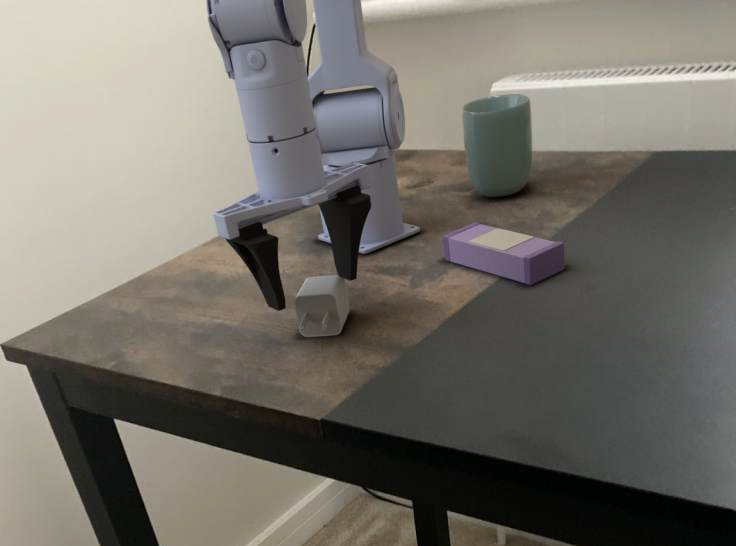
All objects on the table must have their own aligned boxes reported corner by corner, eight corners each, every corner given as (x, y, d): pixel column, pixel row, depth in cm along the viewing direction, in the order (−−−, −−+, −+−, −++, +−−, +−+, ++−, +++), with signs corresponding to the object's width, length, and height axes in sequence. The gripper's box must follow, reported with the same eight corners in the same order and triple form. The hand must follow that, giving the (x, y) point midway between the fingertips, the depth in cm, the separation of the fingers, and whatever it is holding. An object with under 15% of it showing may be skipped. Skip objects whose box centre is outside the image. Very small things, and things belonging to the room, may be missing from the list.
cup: (539, 196, 103) (535, 104, 98) (471, 207, 104) (464, 116, 98) (529, 177, 110) (525, 90, 104) (466, 188, 110) (458, 101, 105)
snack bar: (445, 260, 92) (442, 235, 90) (477, 246, 94) (475, 221, 92) (530, 285, 83) (529, 258, 81) (564, 269, 85) (564, 242, 83)
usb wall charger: (351, 314, 84) (344, 274, 82) (337, 347, 79) (330, 304, 77) (310, 317, 85) (302, 277, 83) (294, 350, 80) (285, 308, 78)
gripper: (228, 164, 67) (267, 332, 74) (381, 113, 72) (403, 273, 80) (186, 154, 72) (227, 312, 79) (333, 107, 78) (357, 259, 85)
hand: (312, 292), depth 80 cm, fingers open, 7 cm apart
